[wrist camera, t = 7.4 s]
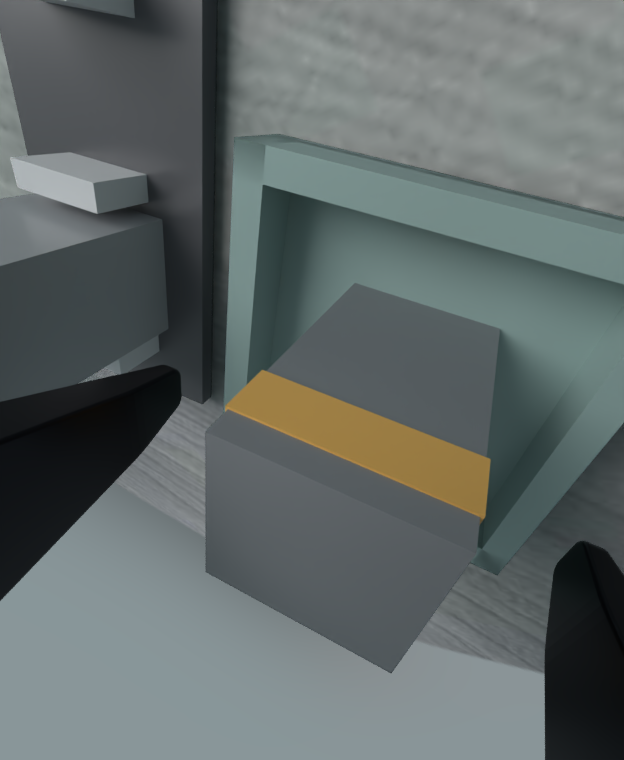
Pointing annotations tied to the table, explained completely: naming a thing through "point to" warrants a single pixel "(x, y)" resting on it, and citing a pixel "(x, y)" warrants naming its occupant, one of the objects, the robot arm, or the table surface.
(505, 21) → the table surface
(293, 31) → the table surface
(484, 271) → the tray
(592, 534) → the table surface
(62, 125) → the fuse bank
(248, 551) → the block
